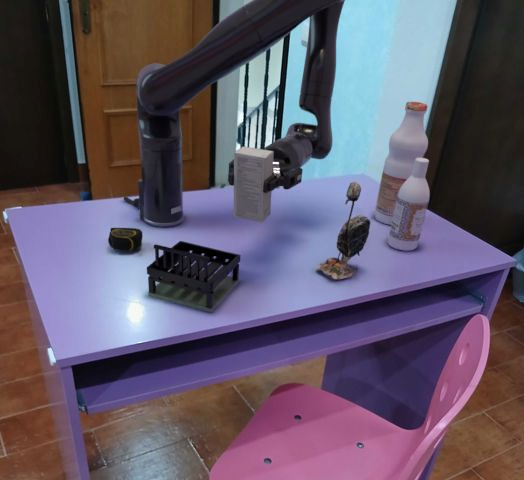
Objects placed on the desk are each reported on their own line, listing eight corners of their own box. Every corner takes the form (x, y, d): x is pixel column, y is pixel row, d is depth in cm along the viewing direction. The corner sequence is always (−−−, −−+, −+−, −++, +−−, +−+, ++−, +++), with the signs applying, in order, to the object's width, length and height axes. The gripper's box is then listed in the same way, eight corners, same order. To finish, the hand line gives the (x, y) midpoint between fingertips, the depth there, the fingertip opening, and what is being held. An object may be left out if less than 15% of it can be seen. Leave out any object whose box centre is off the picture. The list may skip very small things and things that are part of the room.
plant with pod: (373, 274, 118) (393, 181, 106) (329, 284, 113) (345, 187, 101) (350, 258, 123) (367, 168, 112) (307, 266, 118) (320, 173, 107)
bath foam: (402, 253, 127) (423, 166, 115) (381, 242, 132) (399, 156, 120) (423, 248, 130) (445, 162, 119) (401, 237, 135) (421, 153, 123)
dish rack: (148, 296, 104) (145, 245, 98) (180, 267, 114) (179, 220, 108) (211, 313, 100) (212, 261, 95) (239, 282, 111) (241, 234, 105)
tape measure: (143, 241, 123) (142, 225, 120) (140, 255, 117) (139, 239, 115) (111, 240, 122) (110, 224, 120) (107, 254, 116) (105, 237, 114)
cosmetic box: (270, 215, 107) (275, 151, 100) (262, 223, 103) (266, 157, 96) (240, 209, 108) (243, 145, 101) (231, 216, 105) (233, 151, 98)
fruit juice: (375, 210, 149) (398, 97, 132) (411, 216, 147) (438, 102, 131) (371, 222, 141) (394, 104, 125) (408, 229, 139) (437, 110, 123)
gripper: (250, 134, 112) (212, 155, 100) (317, 147, 108) (287, 170, 96) (248, 171, 117) (211, 195, 104) (313, 185, 113) (283, 212, 100)
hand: (248, 183), depth 100 cm, fingers closed on cosmetic box, 6 cm apart
